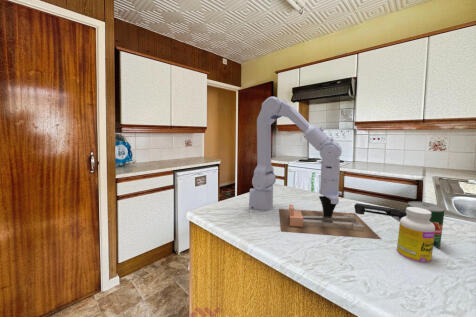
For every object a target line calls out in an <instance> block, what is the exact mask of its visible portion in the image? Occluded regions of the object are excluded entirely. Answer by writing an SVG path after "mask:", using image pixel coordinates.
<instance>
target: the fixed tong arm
mask: <svg viewBox="0 0 476 317" xmlns="http://www.w3.org/2000/svg"><path fill="white" fill-rule="evenodd" d="M303 226H311V227H325V228H339V229H352V230H353V231H364V226H363V225H362V224H361V223H352V222H337V221H322V220H307V219H303Z"/></svg>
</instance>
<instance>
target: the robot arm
mask: <svg viewBox="0 0 476 317" xmlns="http://www.w3.org/2000/svg"><path fill="white" fill-rule="evenodd" d="M282 117H285V118H288V119H289V120H290V121H291V122H292V123H293V124H294V125H296V126H297V127H298V128H299V129H300V130H301V131H302V132H303V133H304V139H305V140H306V141H307V142H308V143H309V144H310V145H311V146H312V147H313V148H314V149H315V150H316V151H317V152H319V155H320V157H321V158H320V159H321V166H320V181H319V182H320V184H319V186H320V187H319V191H318V193H319V194H320V195H319V201H320V203H321V206H322V211H323V214H324V216H332V214H333V212H335V208H336V206H337V205H339V199H340V198H339V197H340V196H342V195H343V192H342V191H339V187H340V170H341V169H340V168H341V165H340V164H341V160H340V156H342V153H343V151H342V147H341V145H340V144H339V143H338V142H334V141H335V138H333V137H330V136H329V135H328V134H326V133H325V131H324V130H325V129H324V128H323V127H319V126H318V125H311V124H310V123H309V122H308V120H306V118H304V116H303V115H302V114H301V113H300V112H299V111H298V110H297V109H296V107H294V106H292V105H291V104H290V103H288V102H287V101H286V100H285V99H280V98H278V97H277V96H269V97H267V98H266V99H265V100H264V101H262V103H261V109H260V111H259V114H258V116H257V118H256V151H257V152H256V156H257V158H256V160H257V163H256V164H257V165H256V166H255V168H254V171H253V177H252V180H251V184H252V186H253V188H250V189H249V194H248V195H249V197H248V198H249V199H248V200H249V202H248V207H249V209H248V213H250V212H251V210H259V211H270V210H272V209H273V207H274V206H273V205H274V200H273V199H274V184H275V183H276V182H277V176H276V174H275V172H274V171H275V170H274V167H273V165H272V126H271V125H272V124H274V122H276V120H277V119H279V118H282Z"/></svg>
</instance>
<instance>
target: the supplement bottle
mask: <svg viewBox="0 0 476 317" xmlns="http://www.w3.org/2000/svg"><path fill="white" fill-rule="evenodd" d="M405 210H406V214H407V216H405V217H402V218H401V219H400V222H399V228H398V236H397V237H398V238H397V244H396V252H397V253H398V254H399V255H401V257H403V258H406V259H409V260H412V261H415V262H419V263H430V262H431V261H432V257H433V249H434V246H433V242H434V234H435V226H434V224H433V223H432V222H430V221H429V219H430V218H431V212H430V211H429V210H426V209H423V208H418V207H408V206H407V207H406V208H405Z"/></svg>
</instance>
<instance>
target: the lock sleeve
mask: <svg viewBox="0 0 476 317" xmlns="http://www.w3.org/2000/svg"><path fill="white" fill-rule="evenodd" d="M288 209H289V213H288V218H290V226H298V227H303V216H302V213H301V210H302V209H295V207H294V204H289V205H288Z"/></svg>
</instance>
